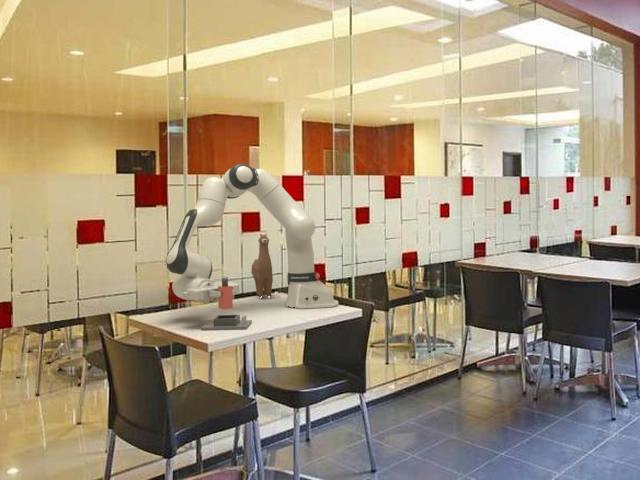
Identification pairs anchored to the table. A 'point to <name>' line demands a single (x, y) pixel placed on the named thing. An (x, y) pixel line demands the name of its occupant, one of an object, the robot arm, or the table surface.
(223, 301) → the plug
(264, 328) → the table surface
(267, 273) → the toy
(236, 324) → the dock
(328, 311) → the table surface
